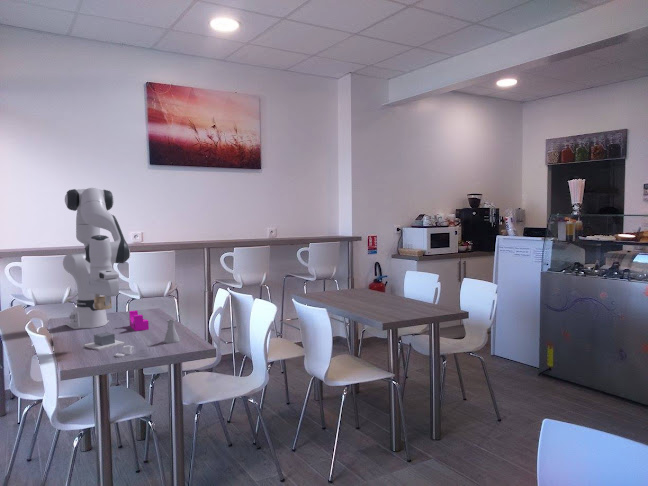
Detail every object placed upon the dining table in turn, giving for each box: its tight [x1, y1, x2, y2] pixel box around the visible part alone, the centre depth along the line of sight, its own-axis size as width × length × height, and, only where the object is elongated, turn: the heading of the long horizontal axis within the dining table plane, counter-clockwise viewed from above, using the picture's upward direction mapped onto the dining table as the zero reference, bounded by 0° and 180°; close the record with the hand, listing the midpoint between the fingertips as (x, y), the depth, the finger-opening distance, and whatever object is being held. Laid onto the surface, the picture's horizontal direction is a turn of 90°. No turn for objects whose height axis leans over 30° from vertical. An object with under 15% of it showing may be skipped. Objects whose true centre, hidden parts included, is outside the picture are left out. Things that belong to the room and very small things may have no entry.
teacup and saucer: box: [114, 344, 135, 358], centre depth 209 cm, size 9×8×4 cm
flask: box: [163, 319, 181, 344], centre depth 229 cm, size 7×7×10 cm
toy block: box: [128, 310, 150, 332], centre depth 259 cm, size 15×6×8 cm, turn 31°
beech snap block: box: [94, 295, 113, 311], centre depth 224 cm, size 5×5×5 cm
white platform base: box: [83, 331, 126, 351], centre depth 225 cm, size 12×12×5 cm
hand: (103, 304), depth 224 cm, fingers closed on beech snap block, 5 cm apart
